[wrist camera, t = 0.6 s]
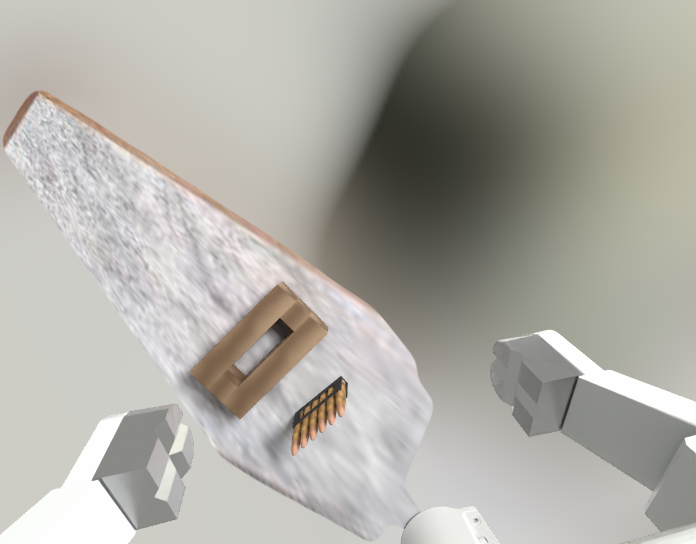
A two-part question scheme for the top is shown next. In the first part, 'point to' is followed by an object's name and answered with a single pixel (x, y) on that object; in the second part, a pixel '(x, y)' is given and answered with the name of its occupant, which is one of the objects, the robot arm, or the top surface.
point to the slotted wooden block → (249, 389)
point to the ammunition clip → (319, 413)
